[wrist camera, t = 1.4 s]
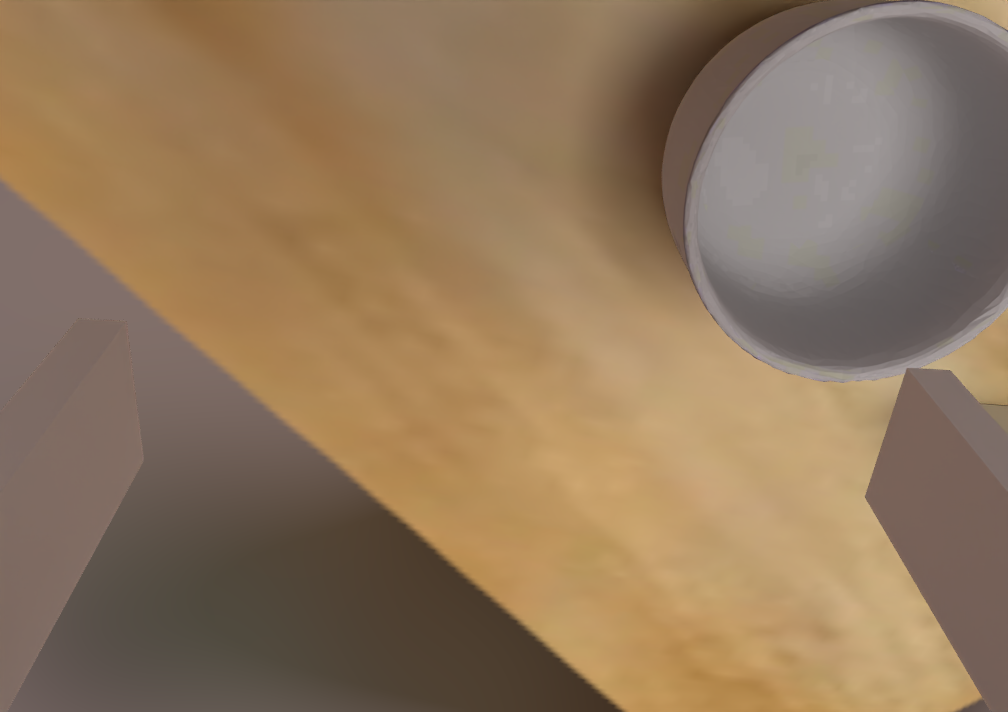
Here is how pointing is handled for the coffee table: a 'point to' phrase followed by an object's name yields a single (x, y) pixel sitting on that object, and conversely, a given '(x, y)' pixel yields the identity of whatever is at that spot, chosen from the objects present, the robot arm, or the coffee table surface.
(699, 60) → the coffee table surface
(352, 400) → the coffee table surface
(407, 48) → the coffee table surface
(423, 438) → the coffee table surface
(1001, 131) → the teacup
